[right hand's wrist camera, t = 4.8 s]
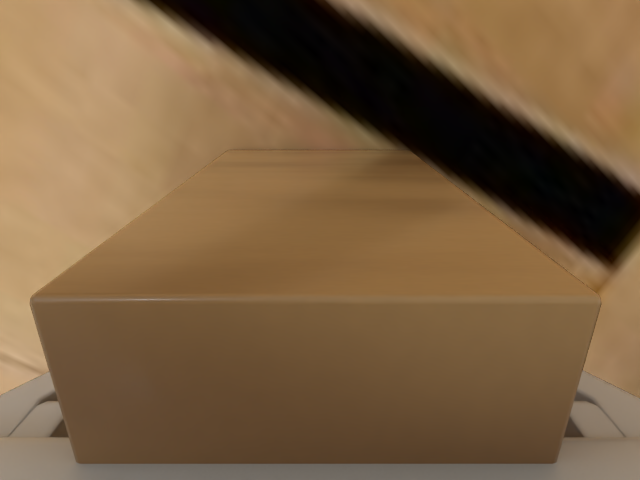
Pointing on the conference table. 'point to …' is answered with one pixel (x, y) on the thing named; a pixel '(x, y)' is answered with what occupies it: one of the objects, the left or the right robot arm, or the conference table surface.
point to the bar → (316, 323)
